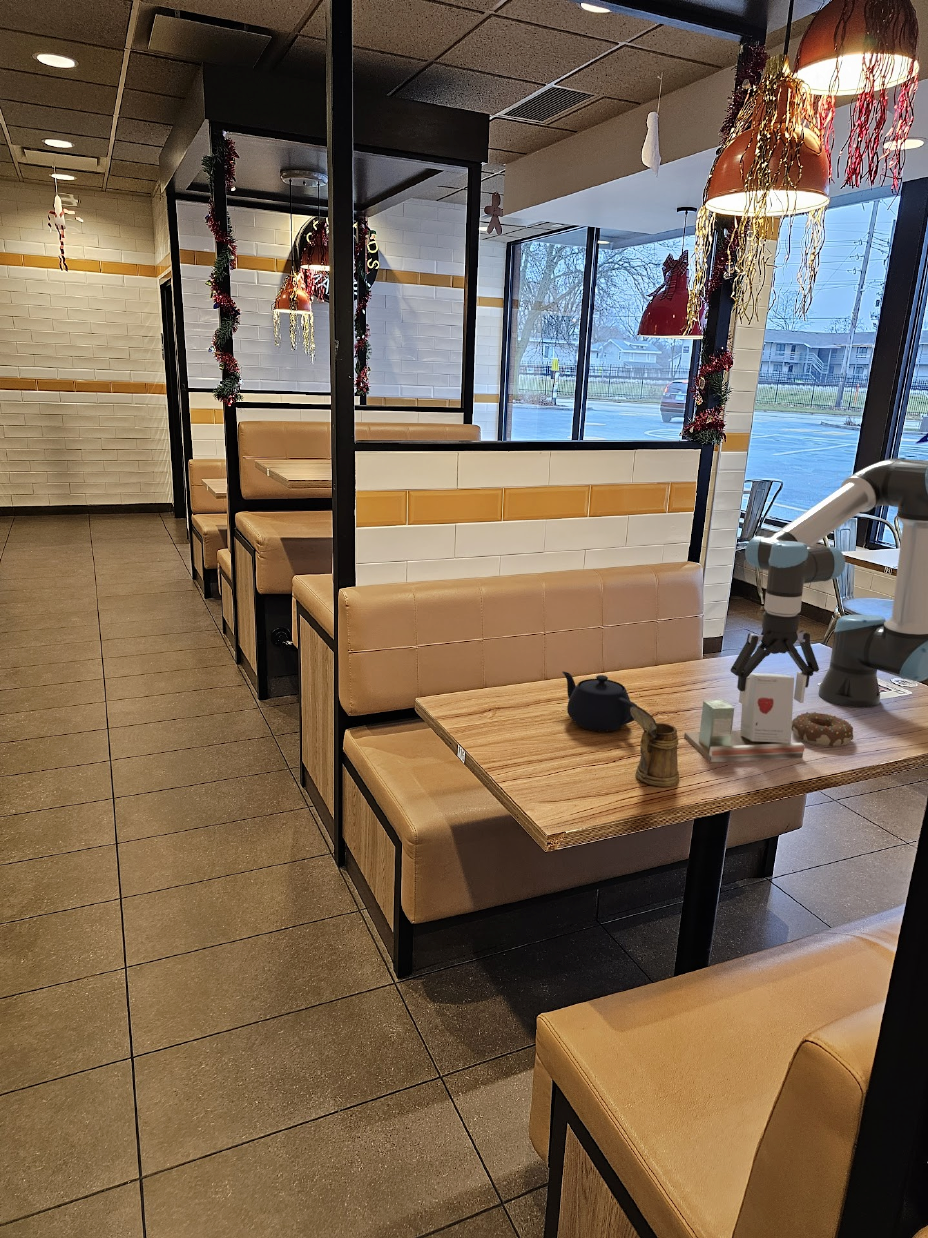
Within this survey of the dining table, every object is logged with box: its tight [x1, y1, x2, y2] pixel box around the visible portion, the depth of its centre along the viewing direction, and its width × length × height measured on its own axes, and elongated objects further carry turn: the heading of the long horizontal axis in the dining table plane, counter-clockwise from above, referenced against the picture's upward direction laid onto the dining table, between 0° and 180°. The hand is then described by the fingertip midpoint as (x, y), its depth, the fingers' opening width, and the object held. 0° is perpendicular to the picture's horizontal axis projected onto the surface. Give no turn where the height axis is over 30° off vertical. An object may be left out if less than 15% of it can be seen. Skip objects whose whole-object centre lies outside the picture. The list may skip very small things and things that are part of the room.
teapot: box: [562, 671, 638, 733], centre depth 202 cm, size 25×16×12 cm, turn 37°
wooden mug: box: [630, 705, 680, 788], centre depth 171 cm, size 9×14×18 cm, turn 128°
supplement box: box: [739, 672, 795, 743], centre depth 190 cm, size 9×9×15 cm
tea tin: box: [699, 699, 735, 751], centre depth 188 cm, size 5×5×10 cm
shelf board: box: [683, 729, 806, 763], centre depth 191 cm, size 22×14×3 cm, turn 100°
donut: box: [791, 711, 854, 748], centre depth 198 cm, size 14×14×5 cm
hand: (771, 702), depth 189 cm, fingers open, 13 cm apart
